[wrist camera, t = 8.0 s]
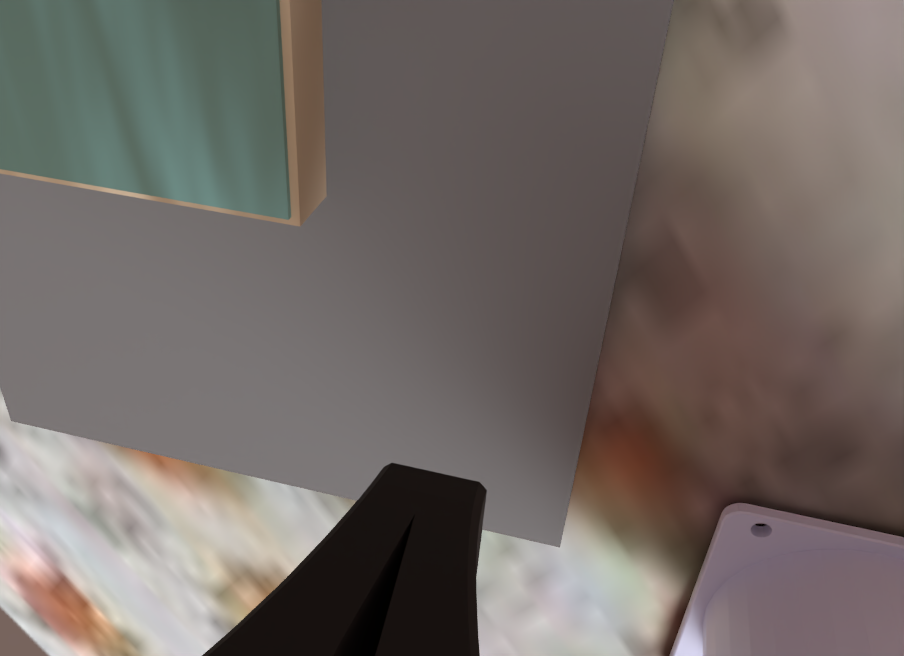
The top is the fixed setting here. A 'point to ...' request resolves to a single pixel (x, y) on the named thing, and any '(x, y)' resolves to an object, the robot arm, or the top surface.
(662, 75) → the top surface
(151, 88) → the brown framed teal panel
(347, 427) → the rubber mat
